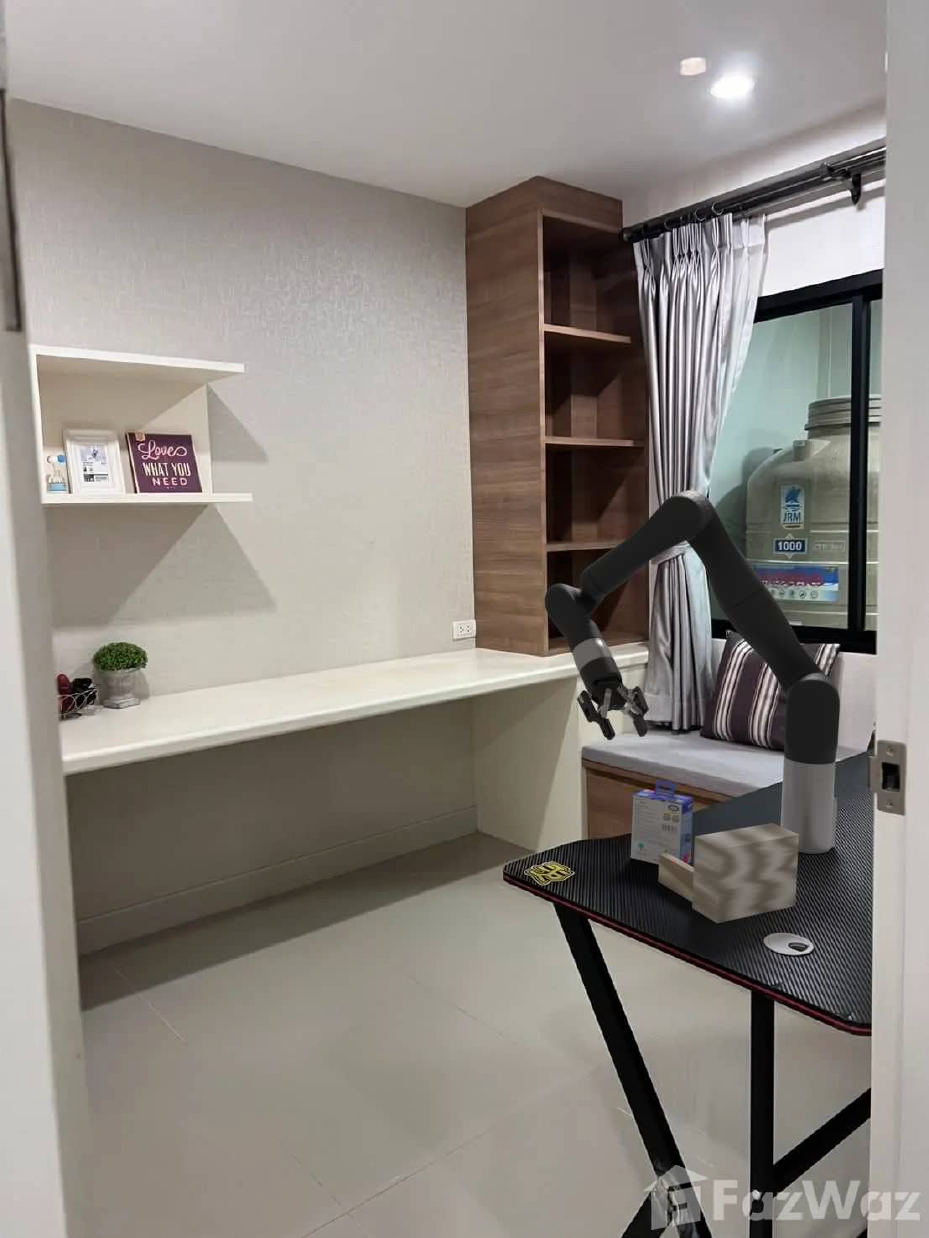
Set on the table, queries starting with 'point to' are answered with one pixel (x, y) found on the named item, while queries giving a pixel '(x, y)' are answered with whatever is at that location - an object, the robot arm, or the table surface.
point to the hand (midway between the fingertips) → (628, 736)
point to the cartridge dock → (737, 872)
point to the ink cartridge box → (661, 824)
